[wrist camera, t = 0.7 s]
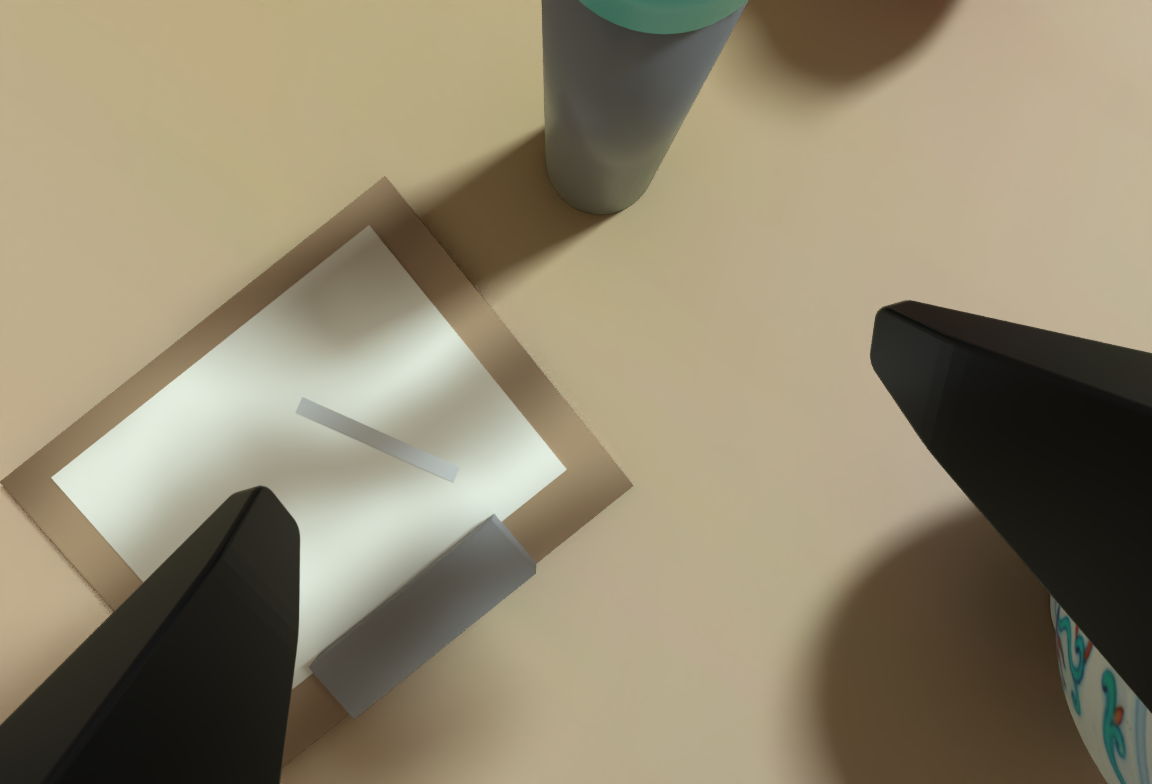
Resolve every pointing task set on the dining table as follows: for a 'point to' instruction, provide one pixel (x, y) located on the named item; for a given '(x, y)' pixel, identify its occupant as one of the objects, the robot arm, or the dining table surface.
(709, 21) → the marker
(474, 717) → the dining table surface
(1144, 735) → the chinaware
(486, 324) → the clipboard
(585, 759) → the dining table surface
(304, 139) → the dining table surface
